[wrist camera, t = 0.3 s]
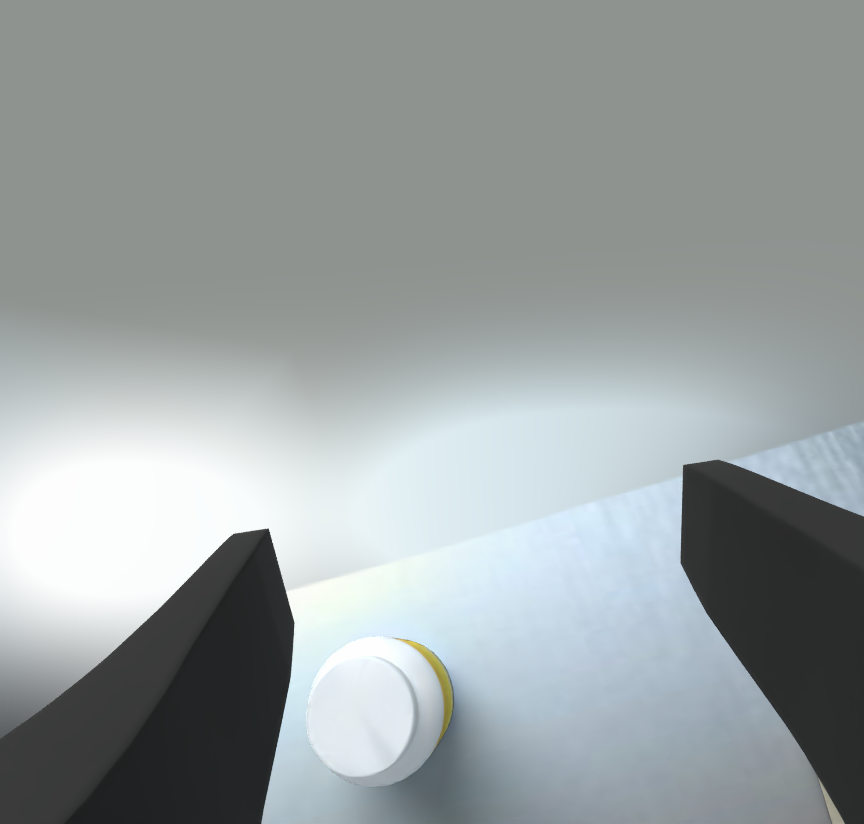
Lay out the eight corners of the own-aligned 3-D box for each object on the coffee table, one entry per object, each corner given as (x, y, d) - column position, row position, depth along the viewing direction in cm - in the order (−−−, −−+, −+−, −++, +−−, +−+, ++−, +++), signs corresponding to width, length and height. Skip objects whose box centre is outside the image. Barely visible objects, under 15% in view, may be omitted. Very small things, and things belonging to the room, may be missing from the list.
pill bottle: (442, 629, 39) (421, 618, 28) (465, 747, 36) (452, 785, 26) (337, 652, 39) (276, 650, 28) (353, 770, 36) (294, 818, 26)
